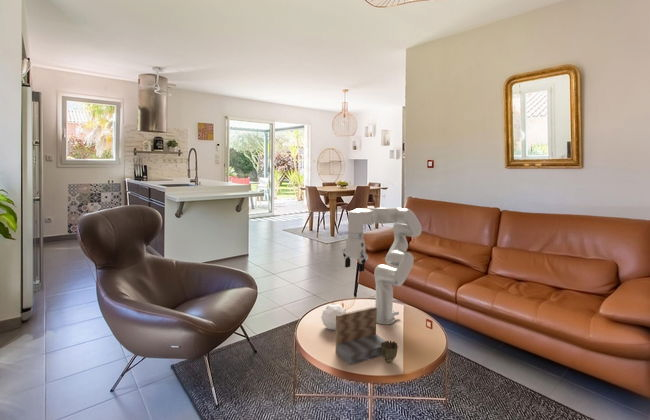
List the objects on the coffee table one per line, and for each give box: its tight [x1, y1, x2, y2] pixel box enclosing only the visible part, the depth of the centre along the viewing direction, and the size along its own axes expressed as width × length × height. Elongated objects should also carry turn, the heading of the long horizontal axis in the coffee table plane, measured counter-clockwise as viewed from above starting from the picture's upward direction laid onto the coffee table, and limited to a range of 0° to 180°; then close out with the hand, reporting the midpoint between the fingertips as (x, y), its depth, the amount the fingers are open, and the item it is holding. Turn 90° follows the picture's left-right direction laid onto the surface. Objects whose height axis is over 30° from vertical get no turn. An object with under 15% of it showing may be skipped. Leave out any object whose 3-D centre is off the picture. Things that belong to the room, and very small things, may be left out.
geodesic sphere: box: [320, 303, 347, 331], centre depth 191 cm, size 14×14×14 cm
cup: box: [381, 340, 399, 364], centre depth 159 cm, size 8×7×8 cm
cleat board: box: [334, 306, 386, 366], centre depth 166 cm, size 22×12×18 cm, turn 119°
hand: (354, 269), depth 182 cm, fingers open, 9 cm apart
